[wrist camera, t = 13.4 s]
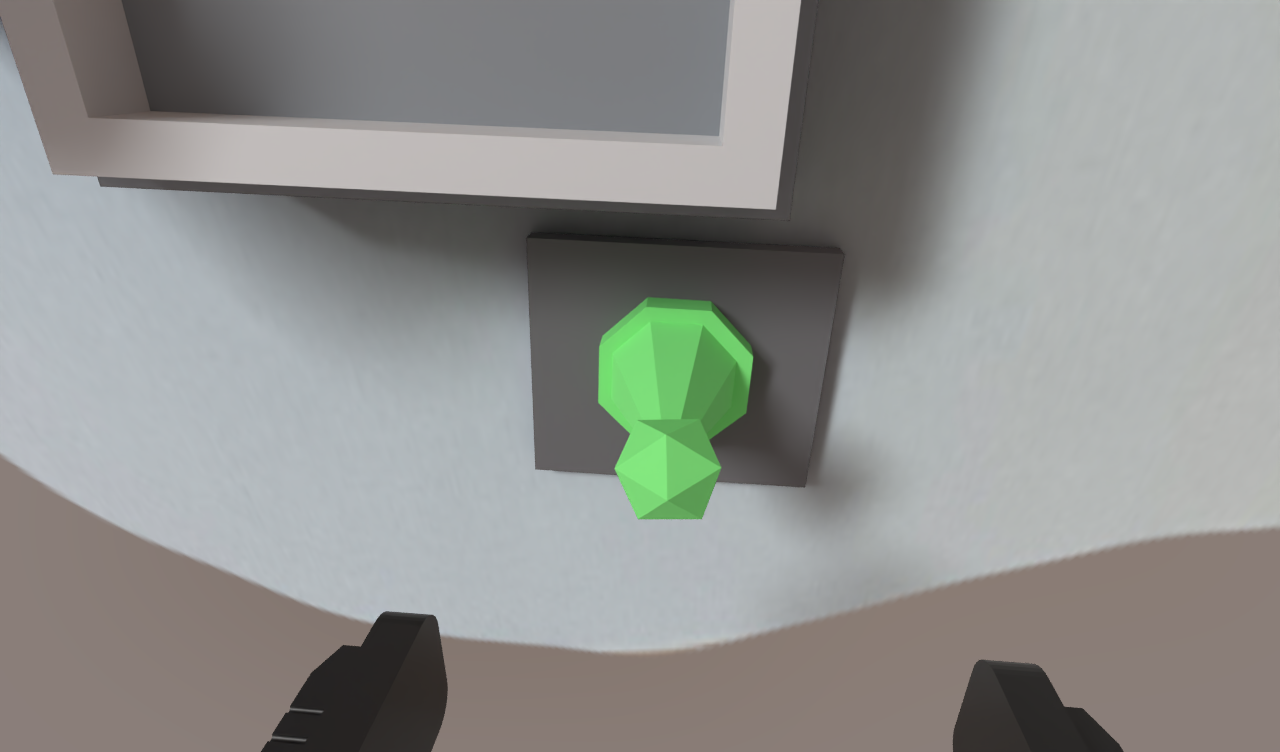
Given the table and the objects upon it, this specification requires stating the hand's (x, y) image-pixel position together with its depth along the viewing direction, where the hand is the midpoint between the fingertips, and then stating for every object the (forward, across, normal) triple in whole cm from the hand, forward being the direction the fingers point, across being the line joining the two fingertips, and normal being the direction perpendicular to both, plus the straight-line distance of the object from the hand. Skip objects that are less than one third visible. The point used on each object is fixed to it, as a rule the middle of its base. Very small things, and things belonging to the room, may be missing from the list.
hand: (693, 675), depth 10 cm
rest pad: (+10, +1, -1) cm, 10 cm away
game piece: (+10, +1, -1) cm, 10 cm away
